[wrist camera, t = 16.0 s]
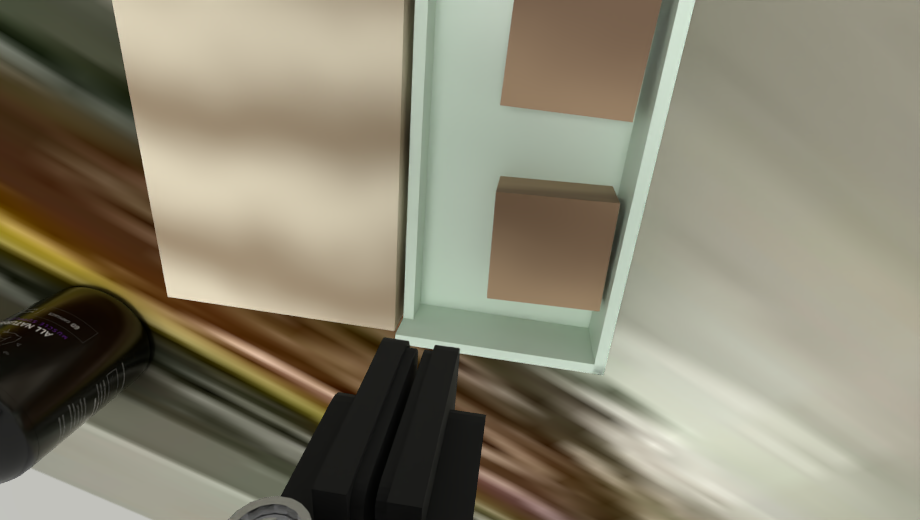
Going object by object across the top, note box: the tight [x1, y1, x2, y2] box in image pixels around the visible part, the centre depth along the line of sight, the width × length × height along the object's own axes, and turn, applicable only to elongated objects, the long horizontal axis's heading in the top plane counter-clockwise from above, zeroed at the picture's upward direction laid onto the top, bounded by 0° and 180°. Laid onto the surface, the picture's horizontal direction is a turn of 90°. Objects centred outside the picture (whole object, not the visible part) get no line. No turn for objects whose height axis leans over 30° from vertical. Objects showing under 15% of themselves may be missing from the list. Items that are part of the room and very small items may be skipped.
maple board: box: [112, 0, 415, 331], centre depth 22 cm, size 20×12×2 cm, turn 175°
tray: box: [395, 0, 695, 375], centre depth 21 cm, size 20×10×4 cm, turn 175°
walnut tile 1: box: [500, 0, 662, 122], centre depth 19 cm, size 5×5×2 cm
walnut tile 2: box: [487, 176, 620, 311], centre depth 23 cm, size 5×5×2 cm
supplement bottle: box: [0, 287, 150, 484], centre depth 26 cm, size 7×7×12 cm
